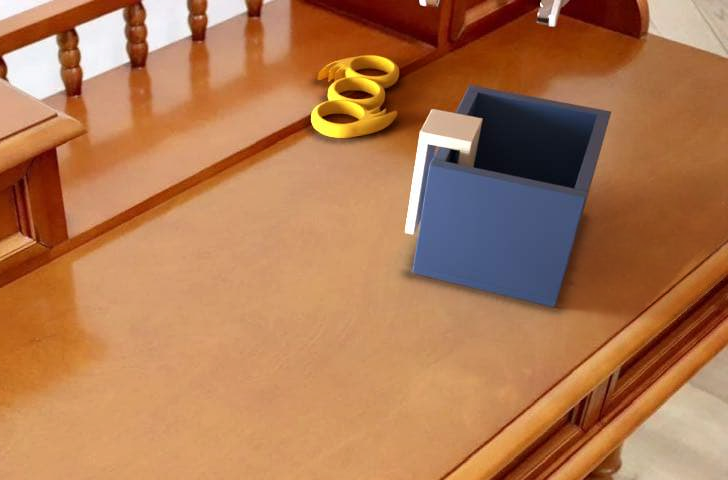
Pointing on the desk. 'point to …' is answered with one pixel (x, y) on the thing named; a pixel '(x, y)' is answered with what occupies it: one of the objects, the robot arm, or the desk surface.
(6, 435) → the desk surface
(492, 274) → the bin
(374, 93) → the yellow winged triple ring
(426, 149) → the clip
